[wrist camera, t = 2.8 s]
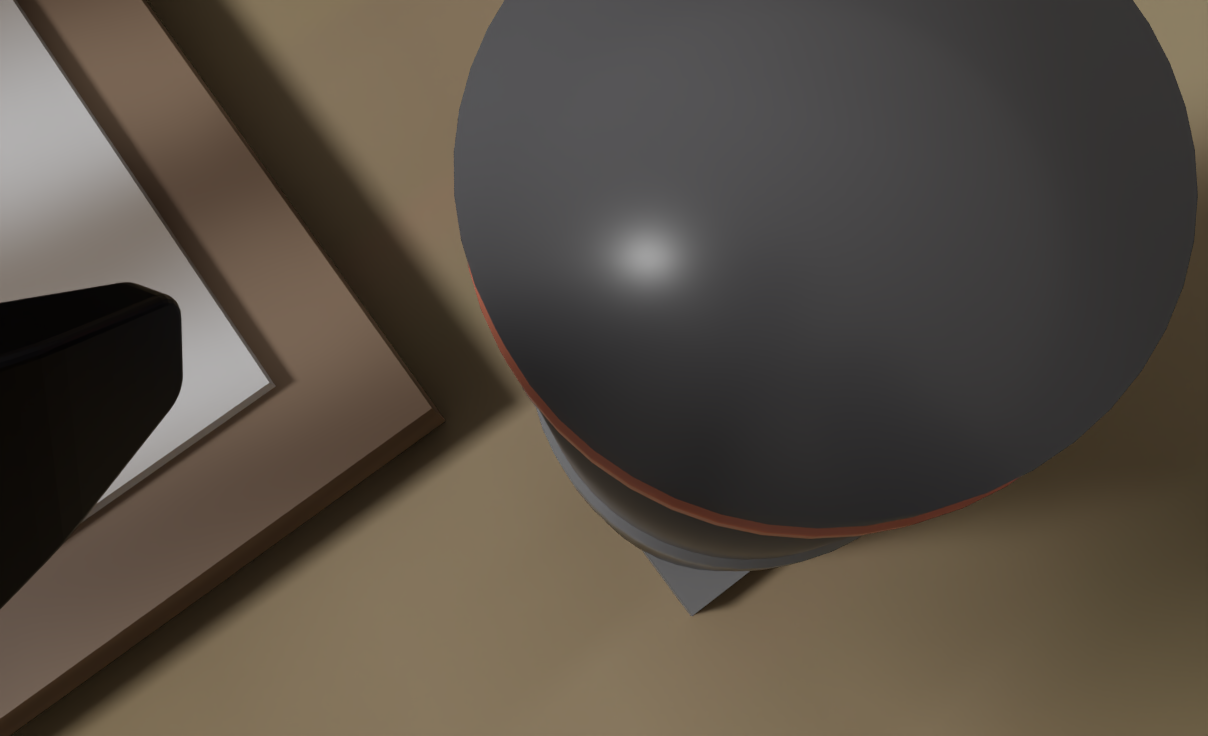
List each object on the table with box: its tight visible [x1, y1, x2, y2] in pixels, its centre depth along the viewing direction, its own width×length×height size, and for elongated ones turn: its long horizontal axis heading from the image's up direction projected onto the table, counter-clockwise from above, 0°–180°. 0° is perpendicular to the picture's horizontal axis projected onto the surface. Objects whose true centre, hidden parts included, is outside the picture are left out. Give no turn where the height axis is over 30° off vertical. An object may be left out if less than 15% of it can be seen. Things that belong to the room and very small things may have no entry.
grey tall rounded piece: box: [454, 0, 1198, 616], centre depth 13 cm, size 6×6×11 cm
